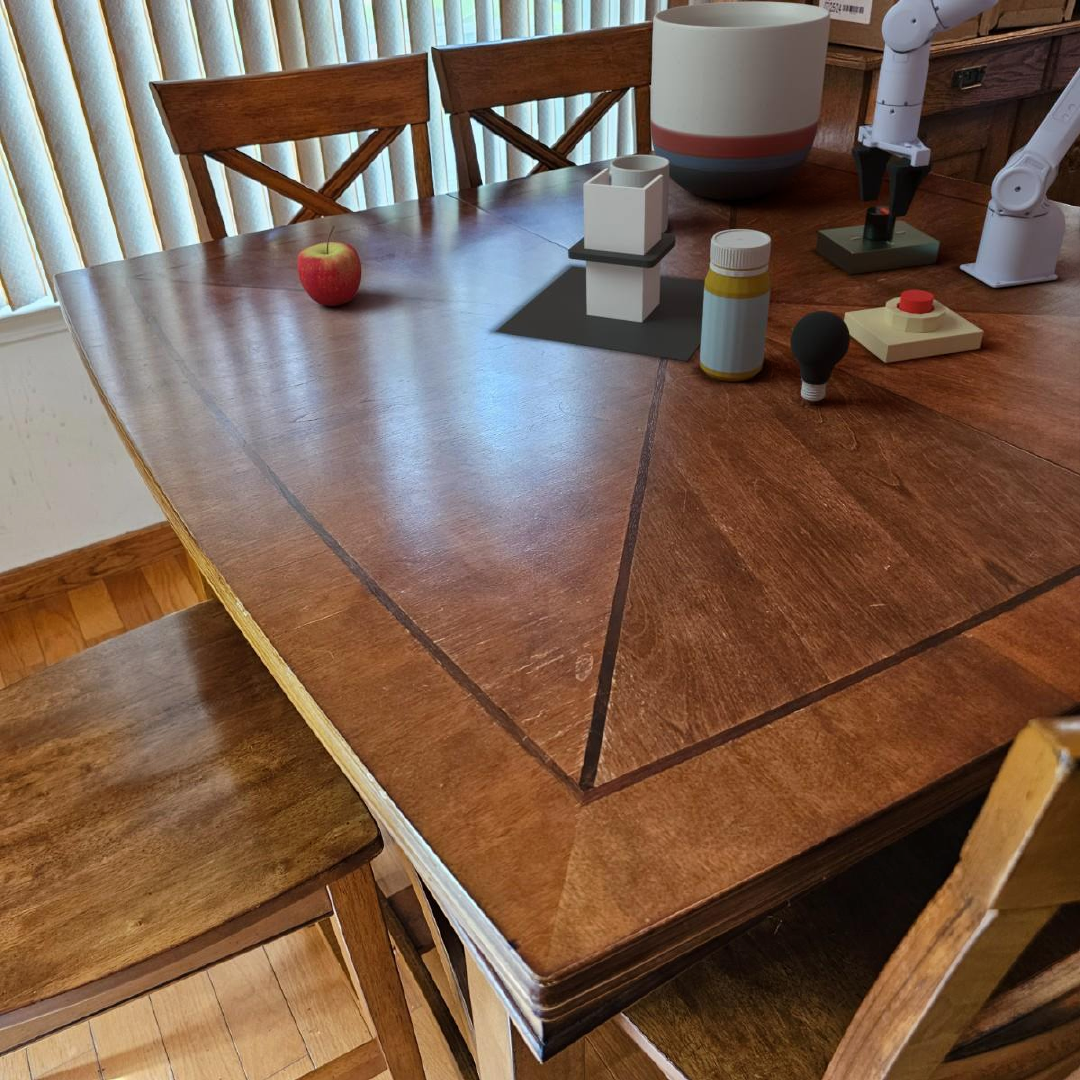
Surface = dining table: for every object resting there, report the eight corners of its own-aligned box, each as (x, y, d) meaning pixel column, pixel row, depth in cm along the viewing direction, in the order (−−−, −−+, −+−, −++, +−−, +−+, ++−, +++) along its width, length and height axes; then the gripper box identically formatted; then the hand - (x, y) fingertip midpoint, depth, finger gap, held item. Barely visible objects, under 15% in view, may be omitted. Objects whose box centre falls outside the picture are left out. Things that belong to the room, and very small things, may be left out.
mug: (677, 224, 154) (679, 158, 148) (649, 242, 148) (650, 174, 142) (616, 215, 159) (616, 150, 153) (586, 232, 153) (585, 166, 147)
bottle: (766, 360, 113) (779, 230, 105) (756, 386, 108) (769, 252, 99) (706, 353, 115) (714, 225, 107) (693, 379, 110) (701, 247, 101)
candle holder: (743, 287, 132) (754, 160, 122) (687, 360, 114) (694, 219, 105) (572, 266, 141) (569, 146, 131) (495, 331, 123) (485, 198, 114)
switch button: (920, 302, 116) (923, 287, 115) (937, 313, 113) (940, 298, 112) (892, 306, 116) (895, 291, 115) (909, 317, 113) (911, 303, 112)
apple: (379, 299, 133) (368, 226, 128) (328, 319, 128) (315, 243, 123) (341, 286, 138) (330, 214, 132) (291, 304, 133) (277, 231, 127)
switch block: (931, 316, 122) (937, 285, 119) (979, 348, 114) (987, 316, 111) (842, 329, 119) (847, 297, 117) (885, 363, 111) (891, 330, 109)
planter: (831, 180, 170) (854, 4, 154) (776, 226, 151) (796, 31, 136) (688, 164, 182) (695, -2, 166) (621, 205, 163) (622, 23, 148)
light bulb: (841, 417, 102) (855, 326, 96) (783, 413, 103) (793, 323, 97) (839, 391, 106) (852, 303, 101) (783, 388, 108) (793, 300, 102)
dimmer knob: (857, 232, 138) (861, 205, 136) (883, 229, 139) (887, 202, 137) (872, 241, 135) (876, 214, 133) (898, 238, 136) (903, 210, 134)
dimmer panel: (897, 240, 144) (901, 219, 142) (935, 263, 136) (940, 240, 134) (815, 251, 142) (818, 229, 140) (849, 274, 134) (853, 252, 132)
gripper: (843, 94, 132) (830, 196, 140) (901, 116, 121) (883, 227, 128) (891, 89, 133) (876, 191, 141) (952, 110, 122) (932, 220, 130)
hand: (882, 208), depth 135 cm, fingers open, 7 cm apart
